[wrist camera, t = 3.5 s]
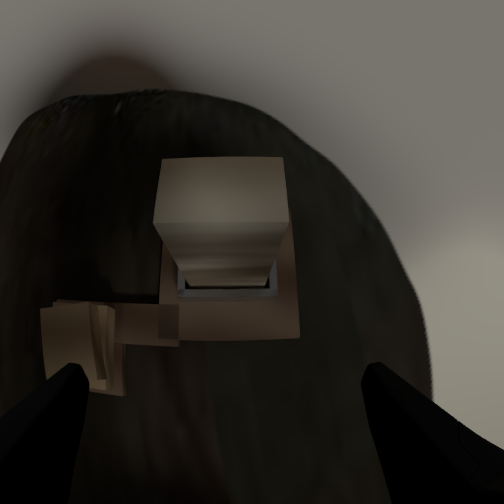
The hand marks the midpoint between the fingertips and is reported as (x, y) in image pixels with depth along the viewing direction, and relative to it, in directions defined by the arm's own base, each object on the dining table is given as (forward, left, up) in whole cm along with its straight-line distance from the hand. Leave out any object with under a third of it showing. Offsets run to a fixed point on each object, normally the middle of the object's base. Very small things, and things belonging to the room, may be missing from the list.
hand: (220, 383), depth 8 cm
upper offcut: (+6, +10, -10) cm, 15 cm away
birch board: (+6, -3, -12) cm, 14 cm away
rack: (+6, +2, -13) cm, 14 cm away
